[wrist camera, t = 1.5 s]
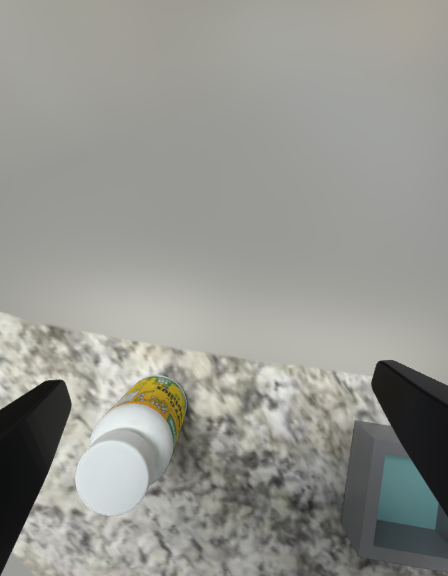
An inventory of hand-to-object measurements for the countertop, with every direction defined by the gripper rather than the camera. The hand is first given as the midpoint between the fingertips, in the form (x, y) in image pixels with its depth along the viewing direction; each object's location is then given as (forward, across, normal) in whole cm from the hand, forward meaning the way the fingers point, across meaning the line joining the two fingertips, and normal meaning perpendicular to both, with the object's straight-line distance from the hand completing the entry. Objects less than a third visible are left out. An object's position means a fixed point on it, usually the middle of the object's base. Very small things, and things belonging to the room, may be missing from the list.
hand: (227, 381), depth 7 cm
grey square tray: (+7, -16, +19) cm, 26 cm away
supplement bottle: (+12, +5, +13) cm, 19 cm away
